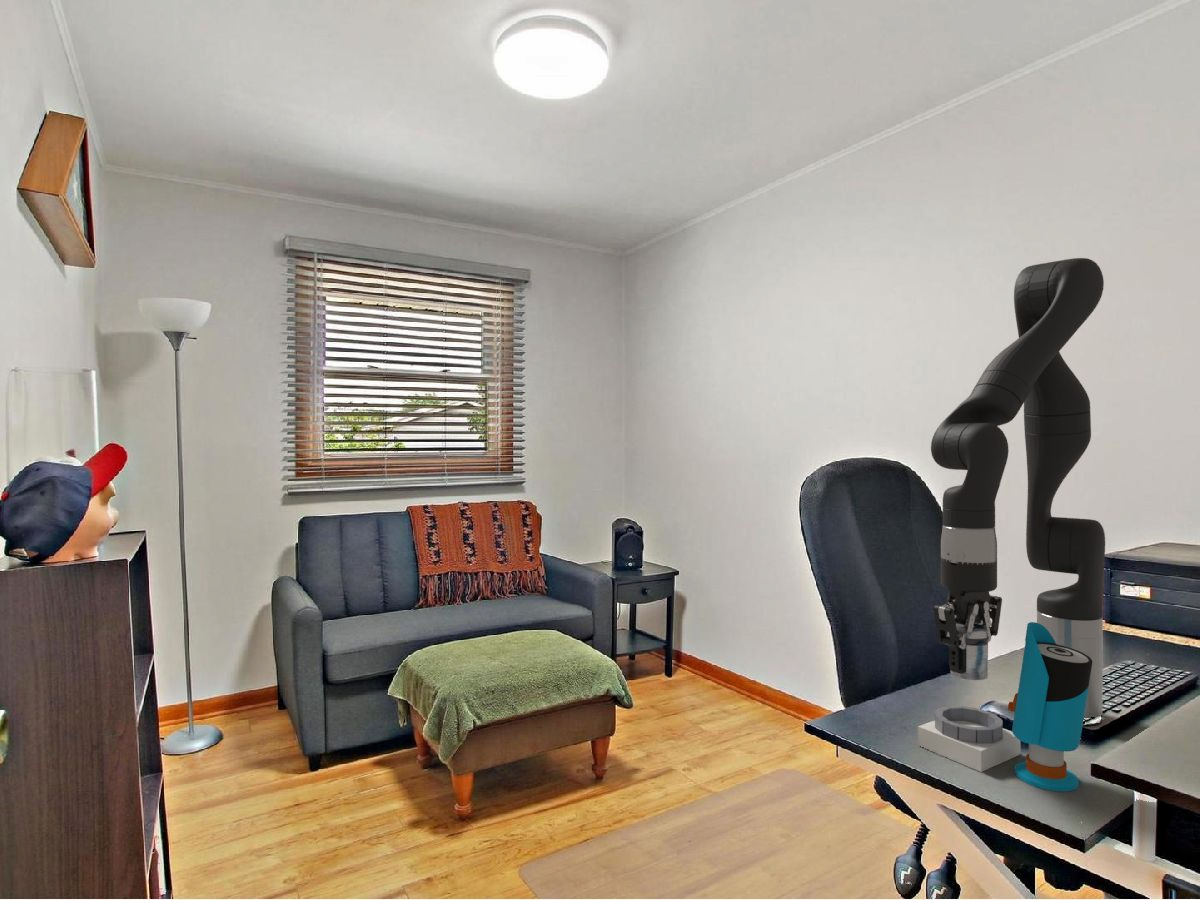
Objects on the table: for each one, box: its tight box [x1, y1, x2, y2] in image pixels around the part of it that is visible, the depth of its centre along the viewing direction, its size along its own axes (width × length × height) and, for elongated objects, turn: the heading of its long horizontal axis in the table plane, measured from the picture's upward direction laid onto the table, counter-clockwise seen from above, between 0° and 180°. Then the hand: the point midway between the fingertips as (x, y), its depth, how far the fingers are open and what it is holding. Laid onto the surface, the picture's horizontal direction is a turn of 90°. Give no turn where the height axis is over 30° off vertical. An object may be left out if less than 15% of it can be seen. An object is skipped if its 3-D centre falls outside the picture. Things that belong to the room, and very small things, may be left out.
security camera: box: [1007, 621, 1092, 792], centre depth 99 cm, size 8×21×10 cm
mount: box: [917, 705, 1021, 773], centre depth 108 cm, size 10×10×5 cm
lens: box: [950, 623, 989, 681], centre depth 107 cm, size 5×5×7 cm
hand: (968, 668), depth 107 cm, fingers closed on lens, 5 cm apart
